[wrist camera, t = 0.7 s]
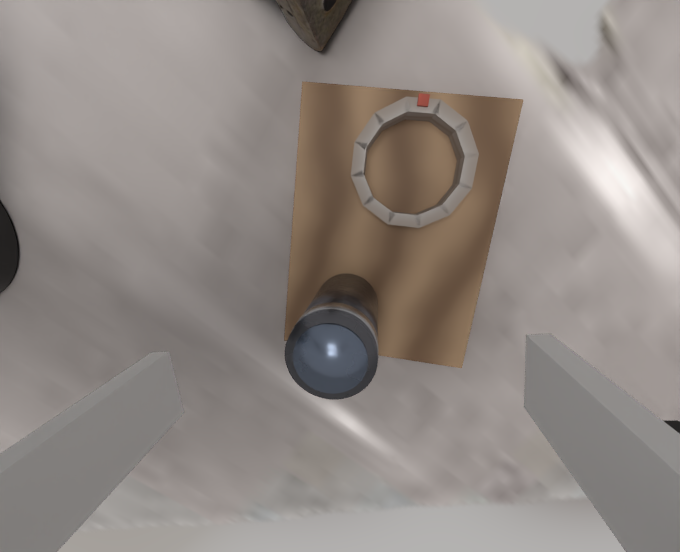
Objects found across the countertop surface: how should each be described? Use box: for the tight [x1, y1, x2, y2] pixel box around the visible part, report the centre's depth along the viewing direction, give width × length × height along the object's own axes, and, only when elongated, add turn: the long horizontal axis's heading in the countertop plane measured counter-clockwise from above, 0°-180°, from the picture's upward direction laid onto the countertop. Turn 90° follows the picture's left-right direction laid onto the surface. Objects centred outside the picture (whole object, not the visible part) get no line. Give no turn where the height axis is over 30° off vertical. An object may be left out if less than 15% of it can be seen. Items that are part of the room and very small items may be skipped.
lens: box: [285, 273, 378, 399], centre depth 25 cm, size 6×6×11 cm
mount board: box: [284, 82, 523, 368], centre depth 28 cm, size 18×24×4 cm
